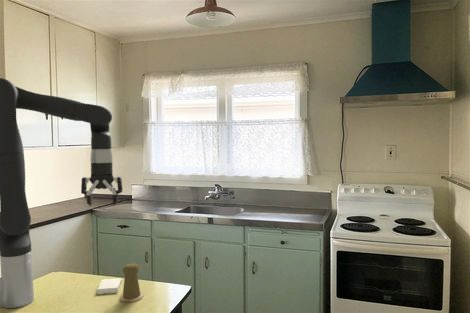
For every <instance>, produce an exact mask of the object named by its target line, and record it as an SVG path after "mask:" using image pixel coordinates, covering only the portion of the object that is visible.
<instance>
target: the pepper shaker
mask: <svg viewBox="0 0 470 313" xmlns="http://www.w3.org/2000/svg"><path fill="white" fill-rule="evenodd" d="M122 273H123V275H124V280H123V281H124V282H123V292H122V294H123V298H124V299H134V298H137V297H139V296H140V291H141V290H140V283H139V277H138V273H139V266H138V264H136V263H132V262H131V263H128V264H125V265H124V266H123V268H122Z"/></svg>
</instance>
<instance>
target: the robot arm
mask: <svg viewBox="0 0 470 313" xmlns="http://www.w3.org/2000/svg"><path fill="white" fill-rule="evenodd" d="M17 109H18V110H26V111H33V112H38V113H42V114H46V115H50V116H52V117H56V118H61V119H65V120H69V121H74V122H75V121H76V122H84V123H88V124H89V125H90V133H91V135H90V136H91V138H90V144H91V145H90V148H91V149H90V150H91V152H90V177H87V176H84V177H82V178H81V187H80V188H81V191H80V192H81V194H82V195H86V204H88V206H89V207H90V206H93V192H94V191H95V190H96V189H97V190H100V189H102V190H106V189H108V190H109V191H110V192H111V194H112V205H113V206H115V205H116V204H117V203H118V196H119V194H121V193H123V179H122V176H118V177H117V176H116V177H115V176H114V175H113V151H112V137H111V134H110V123H111V122H112V119H113V114H112V112H111V110H110V109H108V108H107V107H105V106H102V105H97V104H93V103H85V102H81V101H79V100H75V99H70V98H65V97H61V96H54V95H47V94H42V93H36V92H32V91H29V90H26V89H23V88H20V87H18V86H16V85H15V84H14V83H12V81H10V80H9V79H8V80H7V79H6V78H2V77H0V276H1V277H0V308H7V309H15V308H20V307H24V306H27V305H29V304H31V303H32V302H33V301H34V295H35V294H34V278H33V277H34V276H33V254H32V242H31V236H30V226H31V223H32V216H31V214H30V208H29V205H28V200H27V194H26V167H25V166H26V163H25V162H26V161H25V160H26V159H25V152H24V145H23V140H22V136H21V133H20V130H19V126H18V120H17ZM89 181H90V183H91V184H92V185H91V186H90V187H89V189H88V190H87V187H88V186H87V184H88V183H89ZM113 182H115V183H116V184H117V189H116V188H115V186H114V185H113V184H112V183H113Z"/></svg>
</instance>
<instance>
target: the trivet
mask: <svg viewBox="0 0 470 313" xmlns="http://www.w3.org/2000/svg"><path fill="white" fill-rule="evenodd" d="M144 294H145V293H144V292H143V291H141V290H140V296H139V297H137V298H134V299H124V298H123V293H122V294H120V296H119V299H120V300H119V301H121V302H122V303H123V302H124V303H134V302H139V301H140V300H142V299H143V298H144Z"/></svg>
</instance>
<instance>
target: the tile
mask: <svg viewBox="0 0 470 313" xmlns="http://www.w3.org/2000/svg"><path fill="white" fill-rule="evenodd" d="M121 285H122V277H120V278H119V277H117V278H107V279H103V278H102V280H101V281H100V283H99V286H98V287H97V295H102V294H104V293H106V294H118V293H119V292H120V288H121Z"/></svg>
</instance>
